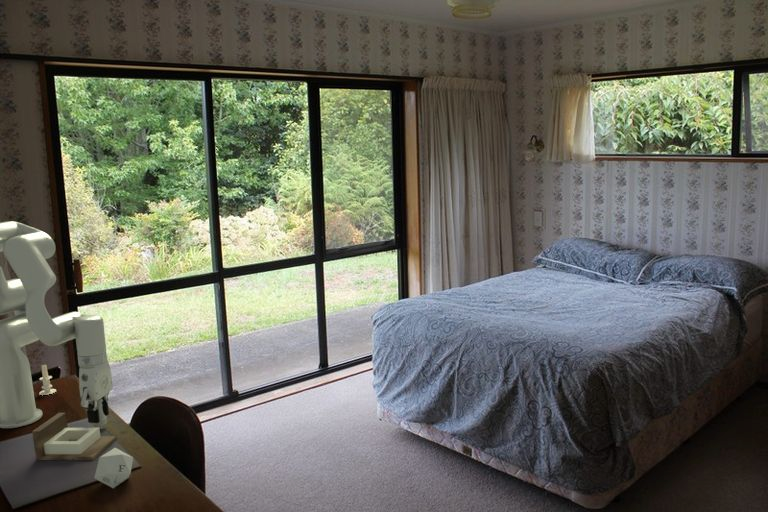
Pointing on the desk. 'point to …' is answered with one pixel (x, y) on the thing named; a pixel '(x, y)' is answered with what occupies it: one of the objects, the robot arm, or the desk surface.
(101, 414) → the rook chess piece
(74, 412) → the desk surface
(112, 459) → the die
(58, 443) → the socket block
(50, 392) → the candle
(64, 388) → the desk surface
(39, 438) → the wooden bookend
